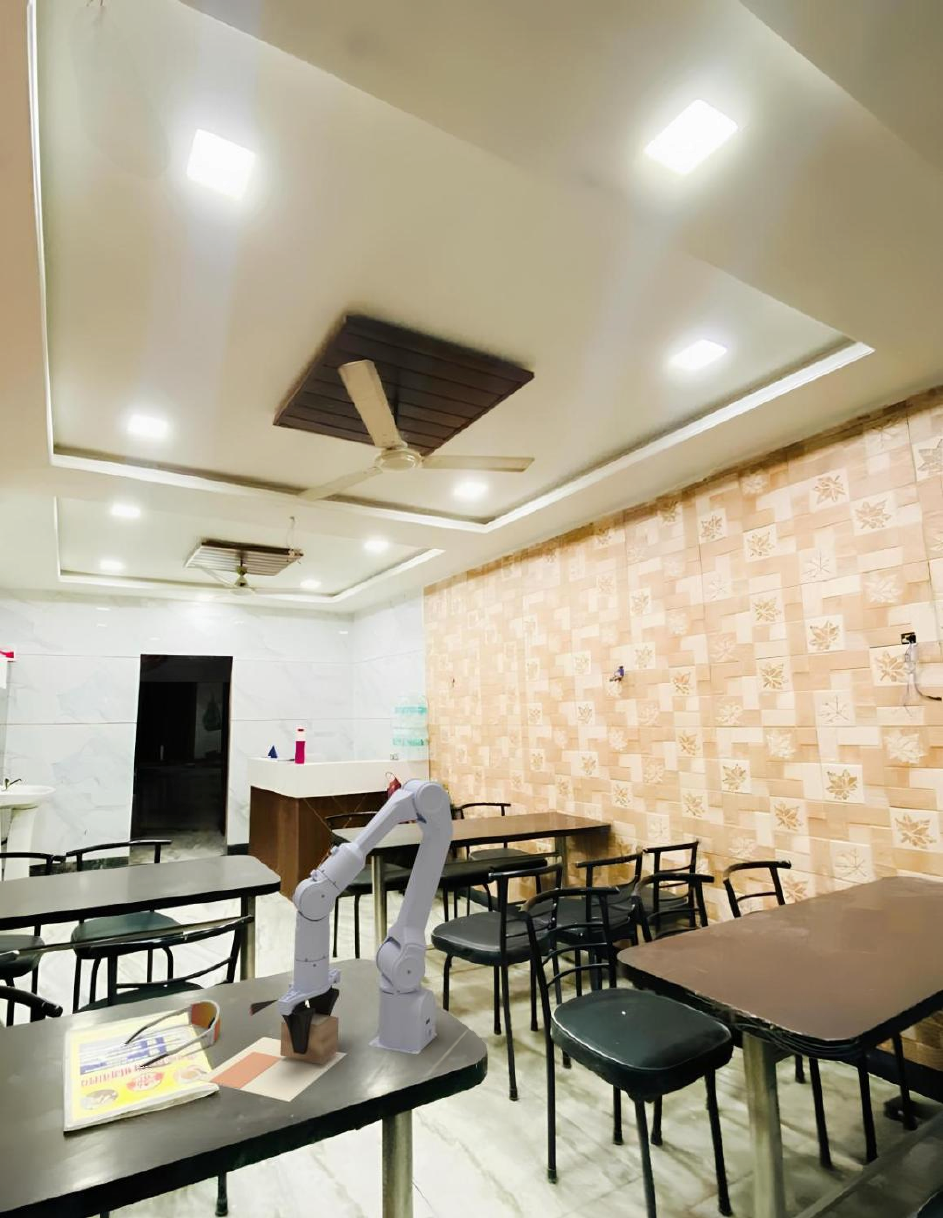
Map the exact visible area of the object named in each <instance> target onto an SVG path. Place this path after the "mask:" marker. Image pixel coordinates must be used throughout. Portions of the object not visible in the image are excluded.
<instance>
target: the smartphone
mask: <svg viewBox="0 0 943 1218" xmlns="http://www.w3.org/2000/svg"><path fill="white" fill-rule="evenodd" d="M278 1000H280V999H278V998H277V999H273V1000H266V1001H260V1002H259V1001H258V1002H253V1003H251V1004H250V1005H249V1006H250V1008H249V1009H250V1014H251V1016H254V1015H255V1014H257V1013H259V1012H260V1011H262V1010H264V1009H265V1008H267V1007H269V1006H271V1005H272V1004H274V1003H275V1002H278Z"/></svg>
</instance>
